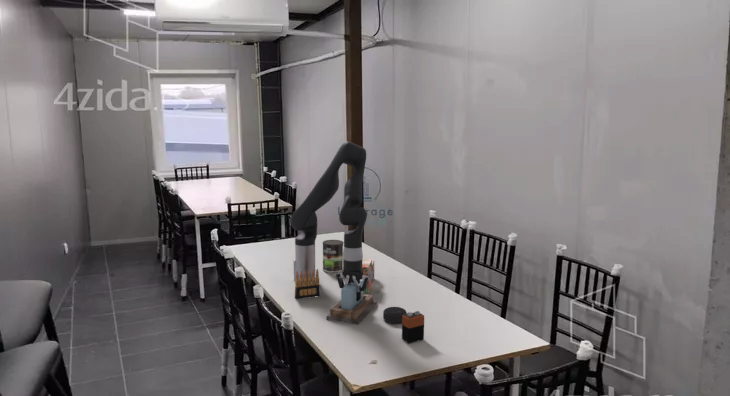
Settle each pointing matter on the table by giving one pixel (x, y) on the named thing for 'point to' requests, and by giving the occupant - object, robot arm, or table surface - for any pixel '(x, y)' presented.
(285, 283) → the table surface
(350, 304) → the blue grey rectangular block
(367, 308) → the cradle
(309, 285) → the ammunition clip
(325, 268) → the coffee can
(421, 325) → the battery
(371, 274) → the stack of blocks
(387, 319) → the smart speaker
